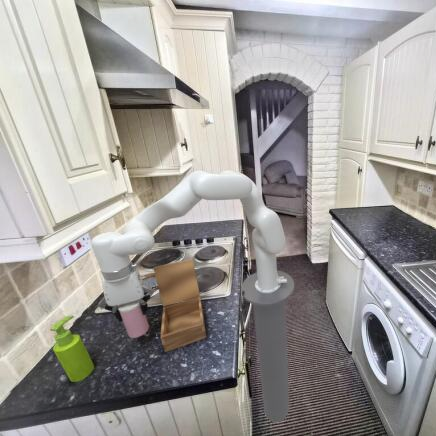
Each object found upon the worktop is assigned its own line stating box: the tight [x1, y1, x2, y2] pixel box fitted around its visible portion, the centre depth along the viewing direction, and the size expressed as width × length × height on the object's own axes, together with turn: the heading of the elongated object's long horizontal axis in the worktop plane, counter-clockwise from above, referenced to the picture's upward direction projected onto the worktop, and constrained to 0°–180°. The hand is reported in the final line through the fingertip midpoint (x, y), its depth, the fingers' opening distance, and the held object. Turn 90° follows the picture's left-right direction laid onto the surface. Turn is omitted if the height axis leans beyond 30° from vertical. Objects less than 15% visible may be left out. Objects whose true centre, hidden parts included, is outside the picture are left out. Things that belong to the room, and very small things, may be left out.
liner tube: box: [118, 300, 150, 339], centre depth 78 cm, size 6×6×12 cm
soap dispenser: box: [49, 315, 95, 383], centre depth 69 cm, size 6×7×20 cm
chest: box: [160, 296, 207, 353], centre depth 86 cm, size 16×14×7 cm
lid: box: [153, 258, 201, 307], centre depth 92 cm, size 16×14×6 cm
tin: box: [140, 272, 159, 294], centre depth 107 cm, size 15×3×8 cm, turn 126°
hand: (133, 315), depth 78 cm, fingers closed on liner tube, 6 cm apart
